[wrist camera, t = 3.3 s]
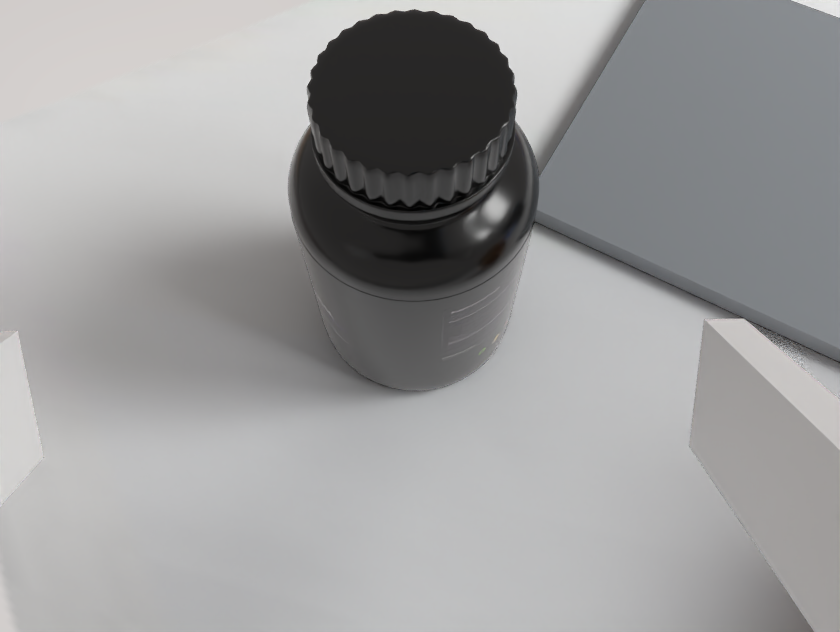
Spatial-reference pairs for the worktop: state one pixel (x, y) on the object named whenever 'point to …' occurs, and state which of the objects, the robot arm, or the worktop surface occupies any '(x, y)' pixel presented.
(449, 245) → the supplement bottle
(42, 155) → the worktop surface
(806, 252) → the slate tile
